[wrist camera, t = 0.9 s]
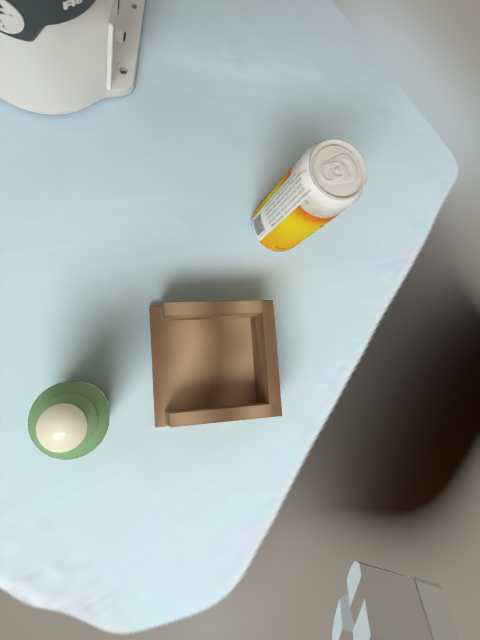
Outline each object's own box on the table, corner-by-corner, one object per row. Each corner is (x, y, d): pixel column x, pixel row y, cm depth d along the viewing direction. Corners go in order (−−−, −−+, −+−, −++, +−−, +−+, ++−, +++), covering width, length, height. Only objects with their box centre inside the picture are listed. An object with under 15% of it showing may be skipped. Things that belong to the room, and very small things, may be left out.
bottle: (60, 375, 43) (30, 370, 26) (116, 390, 44) (121, 395, 27) (40, 431, 42) (-4, 463, 25) (98, 445, 43) (92, 485, 26)
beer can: (307, 244, 52) (381, 192, 38) (262, 260, 51) (323, 213, 36) (287, 196, 53) (354, 127, 38) (241, 211, 51) (294, 144, 36)
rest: (155, 426, 45) (160, 431, 40) (149, 307, 46) (154, 299, 42) (267, 415, 48) (285, 418, 44) (259, 305, 50) (275, 297, 45)
